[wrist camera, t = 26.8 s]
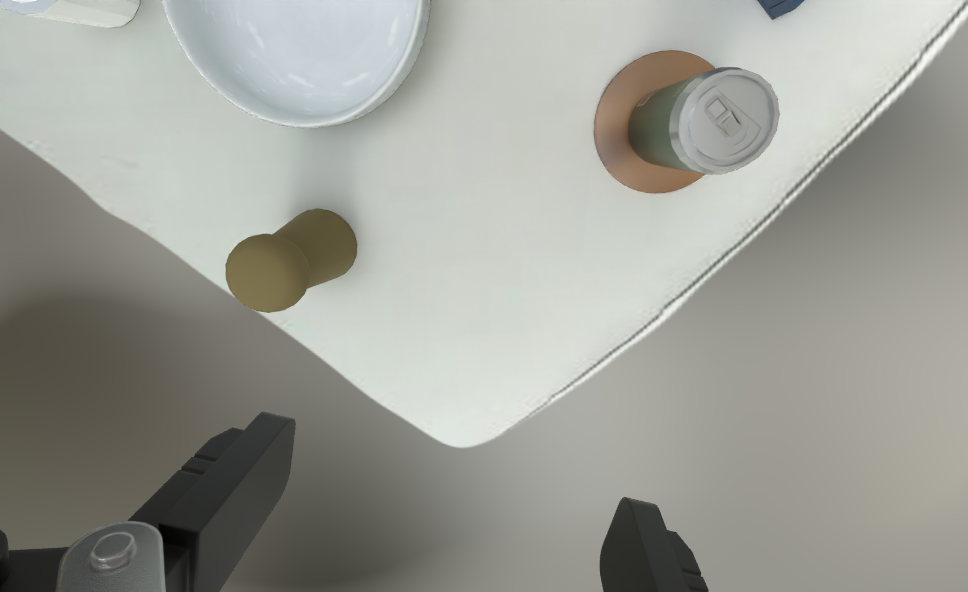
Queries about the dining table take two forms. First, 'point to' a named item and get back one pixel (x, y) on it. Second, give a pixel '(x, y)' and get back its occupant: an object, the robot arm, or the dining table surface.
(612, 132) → the coaster
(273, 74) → the cereal bowl
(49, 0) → the white faceted cup
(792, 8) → the tray
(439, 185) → the dining table surface
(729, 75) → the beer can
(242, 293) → the pepper shaker
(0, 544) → the robot arm
